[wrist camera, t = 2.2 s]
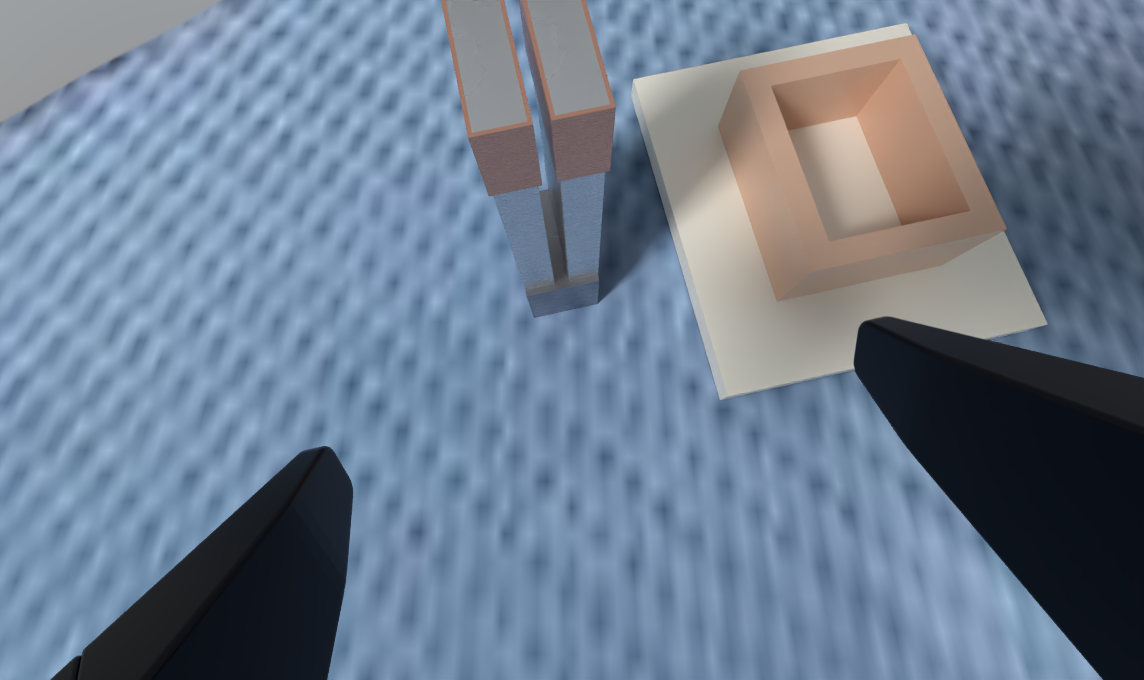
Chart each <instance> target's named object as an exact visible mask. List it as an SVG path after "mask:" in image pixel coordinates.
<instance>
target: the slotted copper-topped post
mask: <svg viewBox="0 0 1144 680" xmlns="http://www.w3.org/2000/svg"><path fill="white" fill-rule="evenodd" d="M441 2H442V7H443V12H444V17H445V22H446V27H447V32H448V38H449V43H450V48H451V53H452V58H453V63H454V68H455V73H456V78H457V84H458V89H459V94H460V99H461V104H462V109H463V114H464V119H465V124H466V130H467V135H468V139H469V142H470V145H471V147H472V150H473V153H474V156H475V159H476V161H477V164H478V167H479V170H480V173H481V175H482V178H483V181H484V184H485V187H486V189H487V192H488V195H489V196H494V199H495V202H496V205H497V208H498V211H499V214H500V217H501V220H502V223H503V226H504V229H505V232H506V235H507V237H508V240H509V243H510V246H511V249H512V252H513V255H514V258H515V261H516V264H517V267H518V270H519V273H520V276H521V279H522V282H523V285H524V288H525V291H526V295H527V299H528V301H529V304H530V307H531V310H532V313H533V316H534V318H535V317H539V316H544V315H548V314H553V313H558V312H562V311H567V310H571V309H576V308H580V307H585V306H590V305H594V304H598V292H599V277H598V268H599V254H600V239H601V225H602V211H603V197H604V183H605V172H608V171H610V167H611V156H612V144H613V133H614V122H615V110H616V106H615V103H614V99H613V96H612V92H611V89H610V85H609V82H608V78H607V75H606V71H605V67H604V64H603V60H602V57H601V53H600V50H599V46H598V43H597V39H596V36H595V32H594V29H593V25H592V21H591V18H590V14H589V11H588V7H587V4H586V0H519V6H520V13H521V20H522V27H523V34H524V41H525V48H526V53H527V57H528V61H529V66H530V70H531V74H532V78H533V82H534V87H535V94H536V101H537V109H538V116H539V124H540V131H541V139H542V147H543V154H544V162H545V169H546V177H547V184H548V190H543V191H539V188H538V186H541V185H542V180H541V174H540V167H539V161H538V154H537V147H536V141H535V134H534V128H533V122H532V118H531V114H530V109H529V105H528V101H527V96H526V92H525V88H524V84H523V79H522V75H521V71H520V67H519V62H518V58H517V54H516V49H515V45H514V41H513V37H512V32H511V28H510V24H509V19H508V15H507V11H506V7H505V2H504V0H441Z"/></svg>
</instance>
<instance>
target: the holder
mask: <svg viewBox="0 0 1144 680" xmlns="http://www.w3.org/2000/svg"><path fill="white" fill-rule="evenodd" d="M631 98H632V101H633V104H634V108H635V111H636V115H637V118H638V121H639V125H640V128H641V132H642V135H643V139H644V142H645V145H646V149H647V152H648V156H649V159H650V162H651V166H652V169H653V173H654V176H655V179H656V183H657V186H658V190H659V193H660V196H661V200H662V203H663V207H664V210H665V214H666V217H667V220H668V224H669V227H670V231H671V234H672V237H673V241H674V244H675V248H676V251H677V254H678V258H679V261H680V265H681V268H682V272H683V275H684V278H685V282H686V285H687V289H688V292H689V295H690V299H691V302H692V306H693V309H694V312H695V316H696V319H697V323H698V326H699V329H700V333H701V336H702V340H703V343H704V347H705V350H706V353H707V357H708V360H709V364H710V367H711V370H712V374H713V377H714V381H715V384H716V387H717V391H718V394H719V398H720V400H724V399H728V398H733V397H737V396H742V395H746V394H750V393H755V392H759V391H764V390H768V389H773V388H777V387H781V386H786V385H790V384H795V383H799V382H803V381H808V380H812V379H817V378H821V377H826V376H830V375H834V374H839V373H843V372H848V371H852V370H855V369H854V363H853V361H854V353H855V347H856V340H857V333H858V328H859V326H860V324H861V323H862V322H864V321H866V320H870V319H874V318H879V317H883V316H890V317H894V318H898V319H903V320H907V321H911V322H915V323H919V324H923V325H927V326H932V327H936V328H940V329H944V330H948V331H952V332H956V333H960V334H965V335H969V336H973V337H977V338H981V339H985V340H989V339H994V338H998V337H1003V336H1007V335H1011V334H1016V333H1020V332H1025V331H1028V330H1031V329H1034V328H1038V327H1041V326H1044V325H1048V323H1047V321H1046V319H1045V317H1044V315H1043V313H1042V311H1041V309H1040V306H1039V304H1038V302H1037V300H1036V298H1035V296H1034V294H1033V292H1032V289H1031V287H1030V285H1029V283H1028V281H1027V279H1026V277H1025V274H1024V272H1023V270H1022V268H1021V266H1020V264H1019V262H1018V260H1017V257H1016V255H1015V253H1014V251H1013V249H1012V247H1011V245H1010V243H1009V240H1008V238H1007V236H1006V234H1005V232H1004V231H1005V230H1006V229H1007V227H1006V225H1005V223H1004V221H1003V219H1002V217H1001V215H1000V213H999V210H998V208H997V206H996V204H995V202H994V200H993V198H992V196H991V194H990V191H989V189H988V187H987V185H986V183H985V181H984V179H983V177H982V174H981V172H980V170H979V168H978V166H977V164H976V162H975V160H974V157H973V155H972V153H971V151H970V149H969V147H968V145H967V143H966V141H965V138H964V136H963V134H962V132H961V130H960V128H959V126H958V124H957V121H956V119H955V117H954V115H953V113H952V111H951V109H950V107H949V105H948V102H947V100H946V98H945V96H944V94H943V92H942V90H941V88H940V85H939V83H938V81H937V79H936V77H935V75H934V73H933V71H932V68H931V66H930V64H929V62H928V60H927V58H926V56H925V54H924V52H923V49H922V47H921V45H920V43H919V41H918V39H917V37H916V35H915V34H914V35H912V34H911V32H910V30H909V27H908V25H907V23H904V24H900V25H895V26H890V27H885V28H880V29H875V30H871V31H866V32H861V33H856V34H851V35H846V36H841V37H837V38H832V39H827V40H822V41H817V42H812V43H808V44H803V45H798V46H793V47H788V48H783V49H778V50H774V51H769V52H764V53H759V54H754V55H749V56H744V57H740V58H735V59H730V60H725V61H720V62H715V63H711V64H706V65H701V66H696V67H691V68H686V69H681V70H677V71H672V72H667V73H662V74H657V75H652V76H648V77H643V78H638V79H633V87H632V95H631Z"/></svg>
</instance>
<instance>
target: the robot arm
mask: <svg viewBox="0 0 1144 680" xmlns="http://www.w3.org/2000/svg"><path fill="white" fill-rule="evenodd" d="M853 363H854V369H855V372H856V374H857V376H858V377H859V379H860V380H861V382H862V383H863V385H864V386H865V388H866V389H867V391H868V392H869V394H870V395H871V397H872V398H873V399H874V401H875V402H876V404H877V405H878V407H879V408H880V410H881V411H882V413H883V414H884V416H885V417H886V419H887V420H888V422H889V423H890V424H891V426H892V427H893V429H894V430H895V432H896V433H897V435H898V436H899V437H900V439H901V440H902V442H903V443H904V444H905V446H906V447H907V448H908V450H909V451H910V452H911V453H912V454H913V456H914V457H915V458H916V459H917V461H918V462H919V463H920V464H921V465H922V467H923V468H924V469H925V470H926V471H927V472H928V474H929V475H930V476H931V477H932V478H933V480H934V481H935V482H936V483H937V484H938V485H939V487H940V488H941V489H942V490H943V491H944V493H945V494H946V495H947V496H948V497H949V498H950V500H951V501H952V502H953V503H954V504H955V506H956V507H957V508H958V509H959V510H960V511H961V513H962V514H963V515H964V516H965V517H966V519H967V520H968V521H969V522H970V523H971V524H972V526H973V527H974V528H975V529H976V530H977V532H978V533H979V534H980V535H981V536H982V537H983V539H984V540H985V541H986V542H987V543H988V545H989V546H990V547H991V548H992V549H993V550H994V552H995V553H996V554H997V555H998V556H999V558H1000V559H1001V560H1002V561H1003V562H1004V563H1005V565H1006V566H1007V567H1008V568H1009V569H1010V571H1011V572H1012V573H1013V574H1014V575H1015V576H1016V578H1017V579H1018V580H1019V581H1020V582H1021V584H1022V585H1023V586H1024V587H1025V588H1026V589H1027V591H1028V592H1029V593H1030V594H1031V595H1032V597H1033V598H1034V599H1035V600H1036V601H1037V602H1038V604H1039V605H1040V606H1041V607H1042V608H1043V610H1044V611H1045V612H1046V613H1047V614H1048V615H1049V617H1050V618H1051V619H1052V620H1053V621H1054V623H1055V624H1056V625H1057V626H1058V627H1059V628H1060V630H1061V631H1062V632H1063V633H1064V634H1065V636H1066V637H1067V638H1068V639H1069V640H1070V641H1071V643H1072V644H1073V645H1074V646H1075V647H1076V649H1077V650H1078V651H1079V652H1080V653H1081V654H1082V656H1083V657H1084V658H1085V659H1086V660H1087V662H1088V663H1089V664H1090V665H1091V666H1092V667H1093V669H1094V670H1095V671H1096V672H1097V673H1098V675H1099V676H1100V677H1101V678H1102V679H1103V680H1144V378H1142V377H1138V376H1134V375H1130V374H1126V373H1122V372H1117V371H1113V370H1109V369H1105V368H1101V367H1097V366H1093V365H1089V364H1084V363H1080V362H1076V361H1072V360H1068V359H1064V358H1060V357H1055V356H1051V355H1047V354H1043V353H1039V352H1035V351H1031V350H1027V349H1022V348H1018V347H1014V346H1010V345H1006V344H1002V343H998V342H994V341H989V340H985V339H981V338H977V337H973V336H969V335H965V334H960V333H956V332H952V331H948V330H944V329H940V328H936V327H932V326H927V325H923V324H919V323H915V322H911V321H907V320H903V319H898V318H894V317H890V316H883V317H879V318H874V319H870V320H866V321H864V322H862V323H861V324H860V326H859V328H858V333H857V340H856V347H855V353H854V361H853ZM352 502H353V487H352V483H351V480H350V478H349V476H348V475H347V473H346V471H345V469H344V468H343V466H342V464H341V463H340V461H339V459H338V457H337V456H336V454H335V452H334V451H333V450H332V449H331V448H330V447H327V446H322V447H318V448H313V449H309V450H305V451H302V452H301V453H299V454H298V455H297V456H296V457H295V458H294V459H293V460H291V461H290V462H289V463H288V464H287V465H286V466H285V467H284V468H283V469H282V470H280V471H279V472H278V473H277V474H276V475H275V476H274V477H273V478H272V479H271V480H269V481H268V482H267V483H266V484H265V485H264V486H263V487H262V488H261V489H260V490H258V491H257V492H256V493H255V494H254V495H253V496H252V497H251V498H250V499H249V500H247V501H246V502H245V503H244V504H243V505H242V506H241V507H240V508H239V509H238V510H236V511H235V512H234V513H233V514H232V515H231V516H230V517H229V518H228V519H227V520H225V521H224V522H223V523H222V524H221V525H220V526H219V527H218V528H217V529H216V530H215V531H213V532H212V533H211V534H210V535H209V536H208V537H207V538H206V539H205V540H204V541H202V542H201V543H200V544H199V545H198V546H197V547H196V548H195V549H194V550H193V551H191V552H190V553H189V554H188V555H187V556H186V557H185V558H184V559H183V560H182V561H180V562H179V563H178V564H177V565H176V566H175V567H174V568H173V569H172V570H171V571H169V572H168V573H167V574H166V575H165V576H164V577H163V578H162V579H161V580H160V581H158V582H157V583H156V584H155V585H154V586H153V587H152V588H151V589H150V590H149V591H147V592H146V593H145V594H144V595H143V596H142V597H141V598H140V599H139V600H138V601H136V602H135V603H134V604H133V605H132V606H131V607H130V608H129V609H128V610H127V611H125V612H124V613H123V614H122V615H121V616H120V617H119V618H118V619H117V620H116V621H114V622H113V623H112V624H111V625H110V626H109V627H108V628H107V629H106V630H105V631H103V632H102V633H101V634H100V635H99V636H98V637H97V638H96V639H95V640H94V641H92V642H91V643H90V644H89V645H88V646H87V647H86V648H85V649H84V650H83V652H82V656H76V657H75V658H74V659H72V660H71V661H70V662H69V663H68V664H67V665H66V666H65V667H64V668H63V669H62V670H60V671H59V672H58V673H57V674H56V675H55V676H54V677H53V678H52V679H51V680H327V678H328V673H329V668H330V663H331V657H332V652H333V647H334V642H335V637H336V632H337V626H338V621H339V616H340V611H341V606H342V601H343V595H344V589H345V583H346V575H347V566H348V553H349V541H350V528H351V515H352Z"/></svg>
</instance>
